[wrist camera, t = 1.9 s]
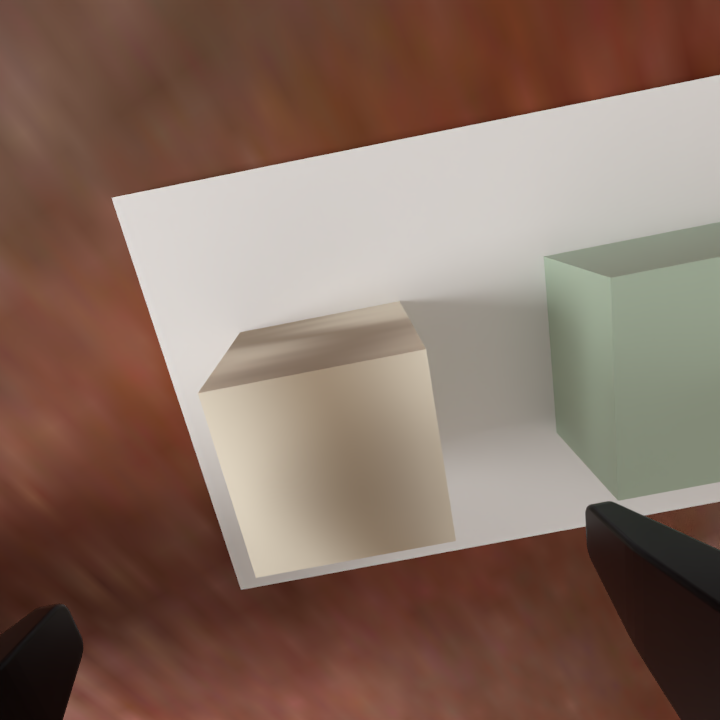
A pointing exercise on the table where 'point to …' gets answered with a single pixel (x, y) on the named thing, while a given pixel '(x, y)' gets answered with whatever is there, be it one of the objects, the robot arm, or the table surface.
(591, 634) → the table surface
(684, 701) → the robot arm
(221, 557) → the table surface
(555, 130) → the pale grey board
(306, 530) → the cream block
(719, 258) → the green block
